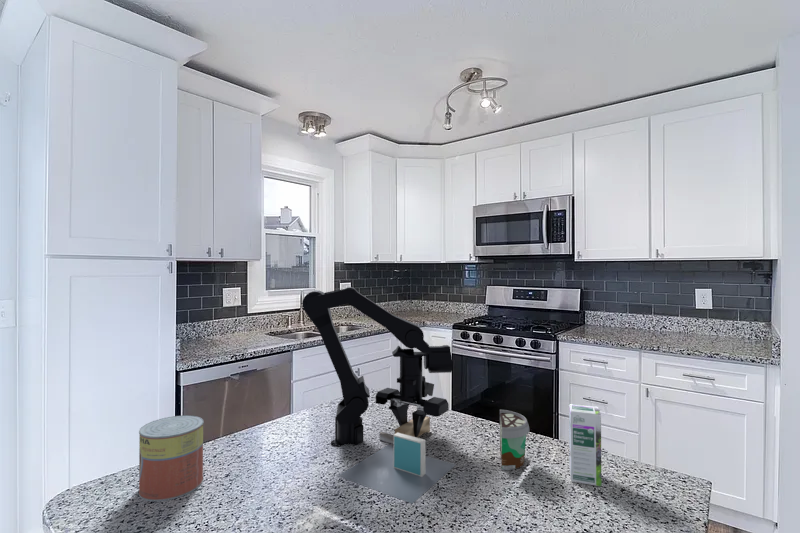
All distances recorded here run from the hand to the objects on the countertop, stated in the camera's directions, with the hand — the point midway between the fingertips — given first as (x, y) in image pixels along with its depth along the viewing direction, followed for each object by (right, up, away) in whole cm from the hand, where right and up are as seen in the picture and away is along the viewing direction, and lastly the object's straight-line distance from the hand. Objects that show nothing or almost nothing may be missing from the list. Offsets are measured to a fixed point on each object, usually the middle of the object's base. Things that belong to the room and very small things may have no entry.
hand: (410, 435), depth 104 cm
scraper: (+1, -1, +1) cm, 2 cm away
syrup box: (+36, -1, -19) cm, 40 cm away
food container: (+23, -1, -13) cm, 26 cm away
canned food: (-48, -1, -22) cm, 53 cm away
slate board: (-3, -1, -17) cm, 18 cm away
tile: (-1, 0, -17) cm, 17 cm away
